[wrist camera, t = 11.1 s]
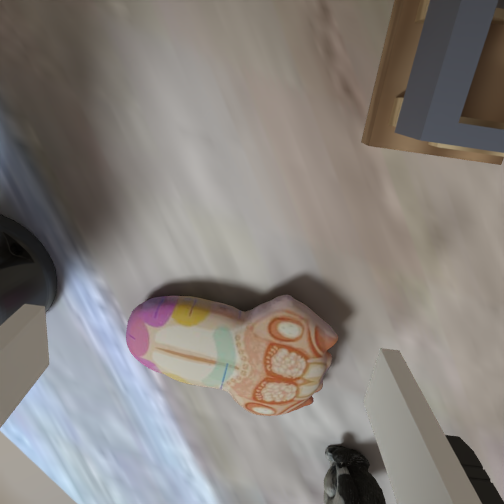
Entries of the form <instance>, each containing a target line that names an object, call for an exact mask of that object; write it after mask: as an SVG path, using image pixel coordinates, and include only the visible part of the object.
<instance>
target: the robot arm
mask: <svg viewBox="0 0 504 504" xmlns="http://www.w3.org/2000/svg"><path fill="white" fill-rule="evenodd" d="M56 289H57V278H56V272H55V268H54V265H53V262H52V260H51V258H50V256H49V254H48V253H47V251H46V249H45V248H44V247H43V245H42V244H41V243H40V242H39V240H38V239H37V238H36V237H35V236H34V235H33V234H32V233H30V232H29V231H28V230H27V229H25V228H24V227H23V226H21V225H20V224H18V223H16V222H15V221H13V220H11V219H9V218H6V217H4V216H1V215H0V428H1V426H2V425H3V424H4V423H5V421H6V420H7V419H8V417H9V416H10V415H11V413H12V412H13V411H14V410H15V408H16V407H17V406H18V404H19V403H20V402H21V400H22V399H23V398H24V397H25V395H26V394H27V393H28V391H29V390H30V389H31V388H32V386H33V385H34V384H35V382H36V381H37V380H38V378H39V377H40V376H41V375H42V373H43V372H44V371H45V369H46V368H47V367H48V365H49V353H48V340H47V327H46V314H45V313H46V311H47V310H48V309H49V308H50V306H51V305H52V303H53V301H54V298H55V295H56ZM364 405H365V408H366V411H367V414H368V417H369V420H370V423H371V426H372V429H373V432H374V435H375V438H376V441H377V444H378V447H379V450H380V453H381V456H382V459H383V462H384V465H385V468H386V471H387V474H388V477H389V480H390V483H391V486H392V489H393V492H394V495H395V498H396V501H397V504H504V502H503V500H502V498H501V497H500V495H499V493H498V491H497V490H496V488H495V486H494V485H493V483H491V482H490V478H489V476H488V475H487V473H486V471H485V470H483V466H482V465H481V463H480V461H479V460H478V458H477V456H476V455H475V453H474V451H473V450H472V449H471V448H470V447H469V446H468V445H467V444H466V443H465V442H464V441H463V440H462V439H461V438H460V437H457V436H448V435H445V434H444V432H443V431H442V429H441V427H440V425H439V423H438V421H437V419H436V418H435V416H434V414H433V412H432V410H431V408H430V406H429V405H428V403H427V401H426V399H425V397H424V395H423V394H422V392H421V390H420V388H419V386H418V384H417V382H416V381H415V379H414V377H413V375H412V373H411V371H410V370H409V368H408V366H407V364H406V362H405V360H404V358H403V357H402V355H401V353H400V351H398V350H390V349H382V348H380V351H379V354H378V357H377V360H376V364H375V367H374V370H373V373H372V376H371V379H370V383H369V386H368V389H367V392H366V395H365V398H364Z"/></svg>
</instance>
